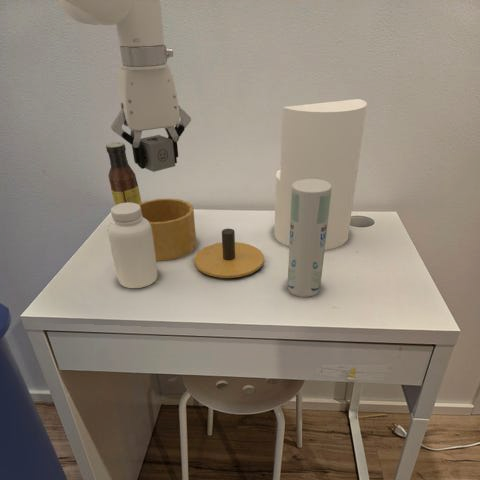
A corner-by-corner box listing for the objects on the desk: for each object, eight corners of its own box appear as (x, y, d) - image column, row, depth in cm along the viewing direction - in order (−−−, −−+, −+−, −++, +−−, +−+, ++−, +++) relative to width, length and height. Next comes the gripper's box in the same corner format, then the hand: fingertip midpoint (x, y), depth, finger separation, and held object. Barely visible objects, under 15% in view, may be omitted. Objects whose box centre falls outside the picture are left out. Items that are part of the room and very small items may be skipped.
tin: (146, 266, 91) (140, 228, 86) (128, 240, 101) (122, 205, 96) (205, 251, 96) (203, 214, 91) (183, 228, 106) (179, 194, 101)
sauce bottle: (147, 222, 109) (134, 139, 98) (144, 233, 104) (130, 147, 93) (121, 223, 109) (104, 140, 97) (117, 234, 104) (99, 148, 92)
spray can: (319, 299, 80) (330, 193, 68) (284, 295, 82) (289, 190, 70) (322, 281, 85) (333, 179, 73) (289, 277, 87) (294, 177, 75)
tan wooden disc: (212, 287, 84) (210, 254, 80) (184, 256, 95) (181, 225, 90) (276, 269, 89) (278, 237, 85) (243, 241, 100) (243, 211, 96)
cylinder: (363, 241, 99) (385, 106, 82) (295, 256, 93) (305, 115, 77) (323, 214, 111) (335, 92, 95) (262, 226, 106) (263, 99, 90)
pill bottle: (137, 294, 83) (123, 220, 74) (109, 281, 87) (93, 209, 78) (166, 276, 88) (157, 205, 79) (139, 265, 92) (127, 196, 83)
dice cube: (161, 160, 89) (158, 134, 86) (175, 166, 86) (172, 139, 83) (140, 166, 86) (136, 139, 83) (153, 171, 83) (149, 144, 80)
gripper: (182, 53, 81) (190, 153, 92) (88, 59, 75) (109, 166, 85) (198, 56, 76) (204, 162, 86) (98, 63, 69) (119, 176, 80)
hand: (157, 163), depth 86 cm, fingers closed on dice cube, 5 cm apart
